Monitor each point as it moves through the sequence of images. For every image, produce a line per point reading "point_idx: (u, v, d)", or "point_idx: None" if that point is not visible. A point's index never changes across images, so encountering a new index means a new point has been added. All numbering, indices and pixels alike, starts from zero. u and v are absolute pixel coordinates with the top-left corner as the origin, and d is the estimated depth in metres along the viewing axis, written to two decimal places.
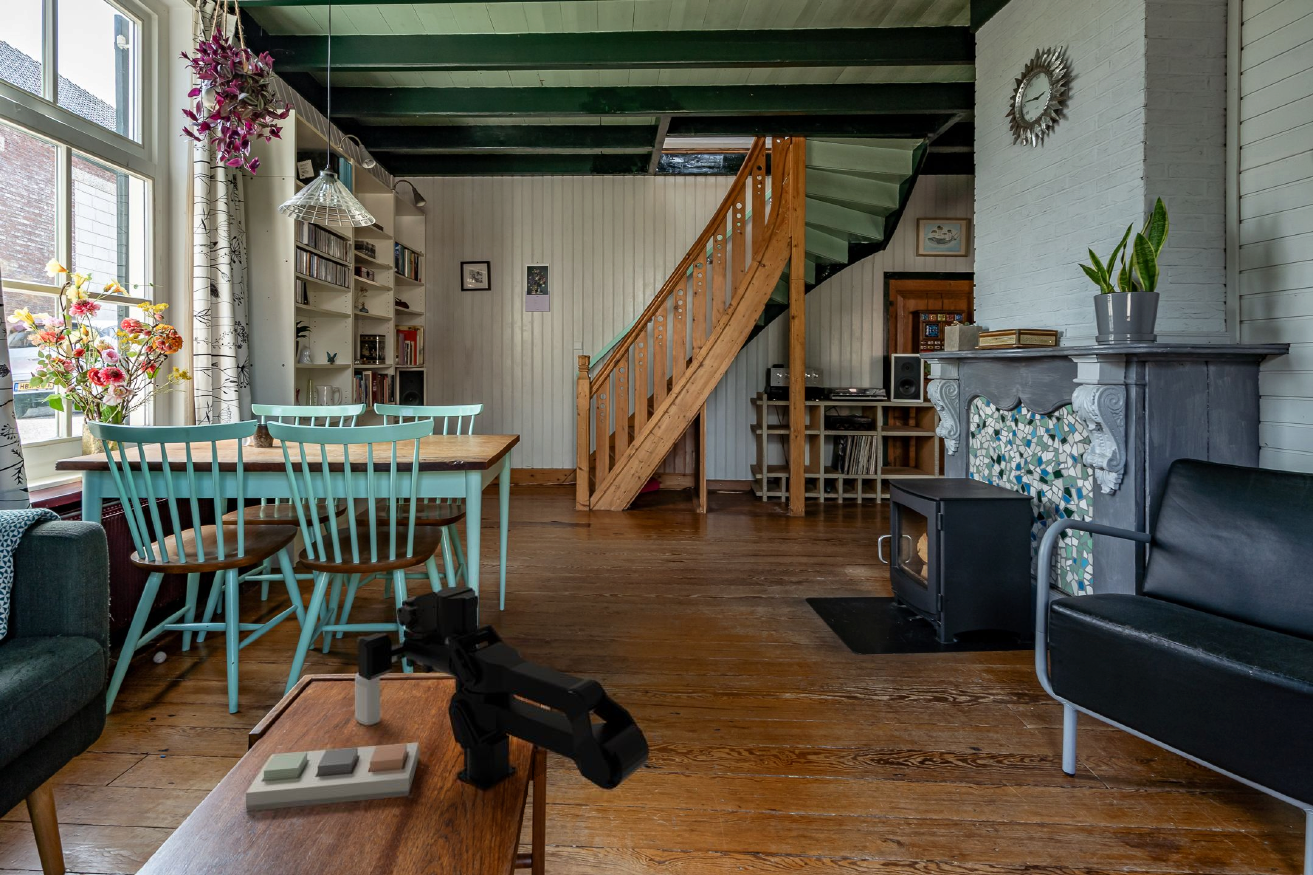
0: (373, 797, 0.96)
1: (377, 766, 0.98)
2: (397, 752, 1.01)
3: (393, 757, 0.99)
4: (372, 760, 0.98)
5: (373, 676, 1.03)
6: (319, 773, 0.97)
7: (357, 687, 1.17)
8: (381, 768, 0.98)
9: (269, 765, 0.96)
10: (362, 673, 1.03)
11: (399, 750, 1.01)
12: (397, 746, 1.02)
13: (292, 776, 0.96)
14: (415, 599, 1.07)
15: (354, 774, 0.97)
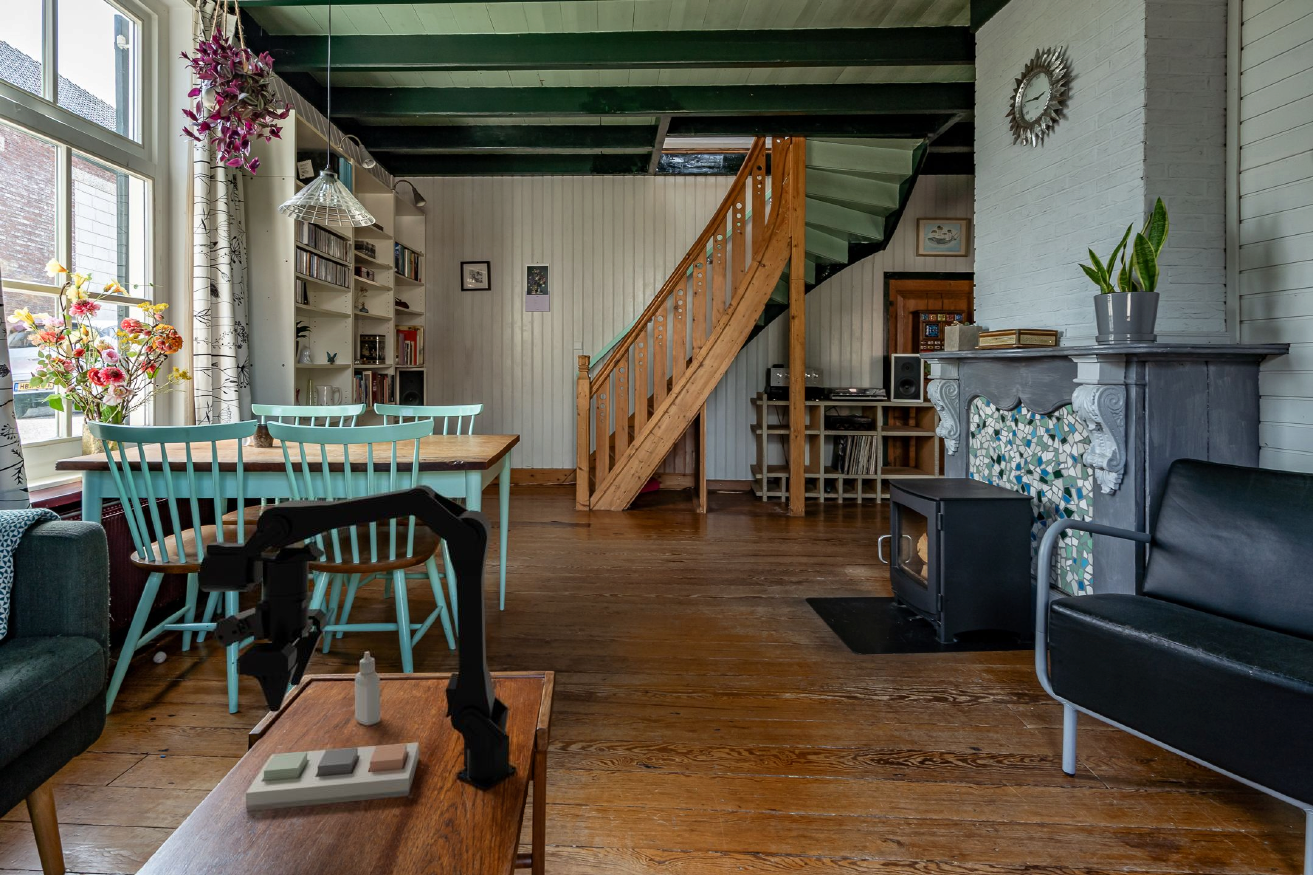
0: (373, 797, 0.96)
1: (377, 766, 0.98)
2: (397, 752, 1.01)
3: (393, 757, 0.99)
4: (372, 760, 0.98)
5: (283, 652, 0.89)
6: (319, 773, 0.97)
7: (357, 687, 1.17)
8: (381, 768, 0.98)
9: (269, 765, 0.96)
10: (277, 665, 0.88)
11: (399, 750, 1.01)
12: (397, 746, 1.02)
13: (292, 776, 0.96)
14: None
15: (354, 774, 0.97)
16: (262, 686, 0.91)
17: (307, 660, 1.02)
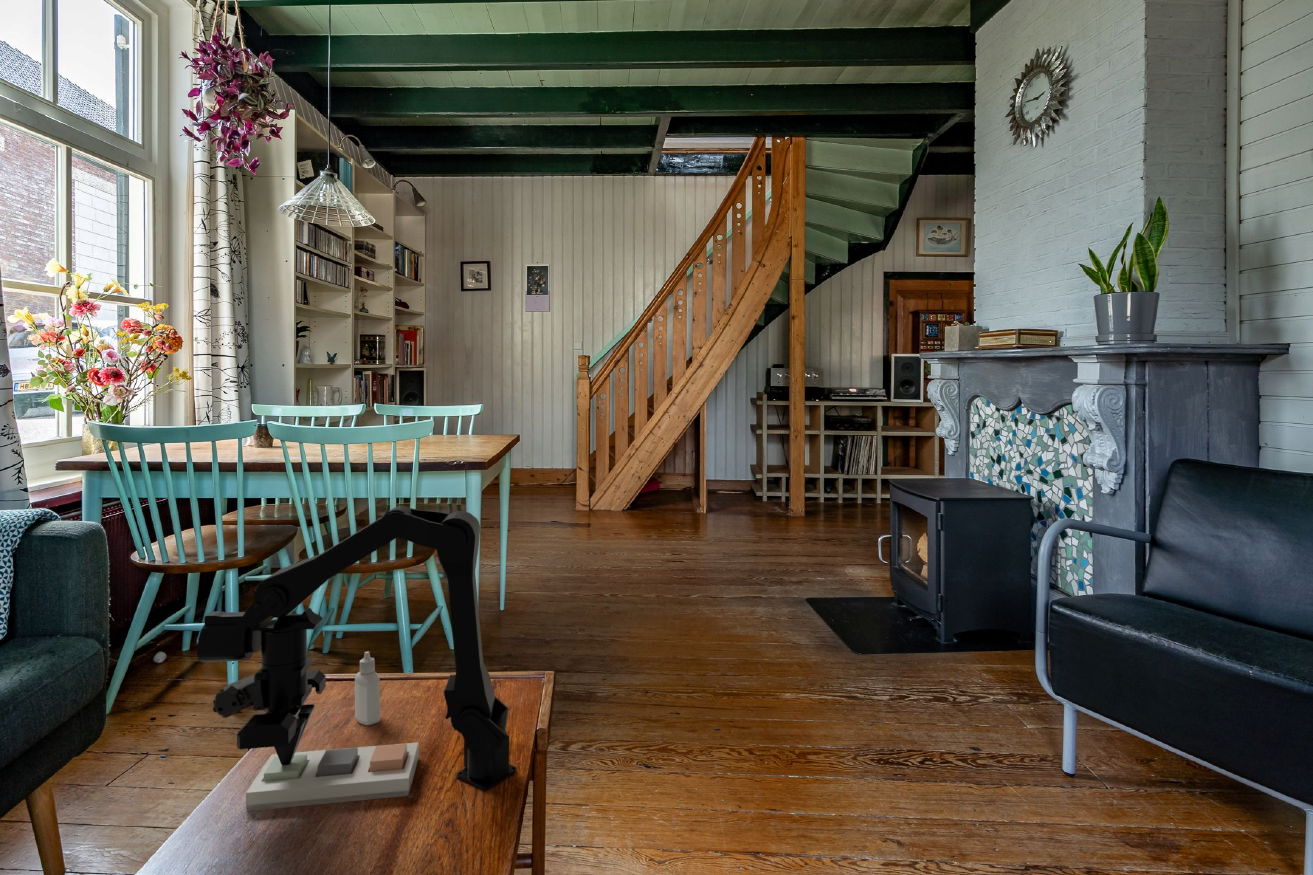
0: (373, 797, 0.96)
1: (377, 766, 0.98)
2: (397, 752, 1.01)
3: (393, 757, 0.99)
4: (372, 760, 0.98)
5: (283, 724, 0.89)
6: (319, 773, 0.97)
7: (357, 687, 1.17)
8: (381, 768, 0.98)
9: (269, 768, 0.96)
10: (278, 738, 0.88)
11: (399, 750, 1.01)
12: (397, 746, 1.02)
13: None
14: (216, 697, 0.93)
15: (354, 774, 0.97)
16: None
17: (299, 737, 0.98)
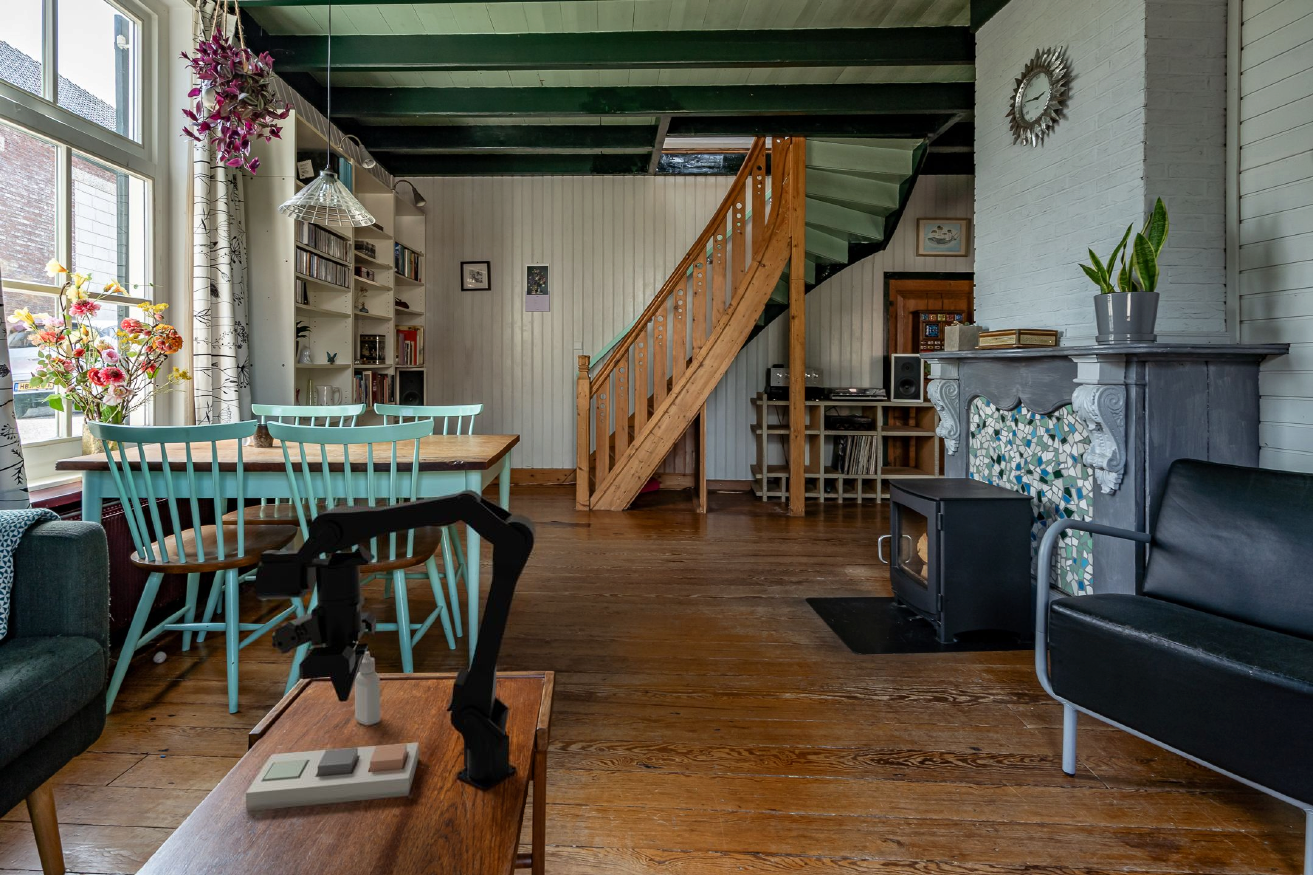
0: (373, 797, 0.96)
1: (377, 766, 0.98)
2: (397, 752, 1.01)
3: (393, 757, 0.99)
4: (372, 760, 0.98)
5: (344, 654, 0.90)
6: (319, 773, 0.97)
7: (357, 687, 1.17)
8: (381, 768, 0.98)
9: (269, 773, 0.97)
10: (339, 668, 0.89)
11: (399, 750, 1.01)
12: (397, 746, 1.02)
13: None
14: (274, 633, 0.94)
15: (354, 774, 0.97)
16: (332, 677, 0.97)
17: None
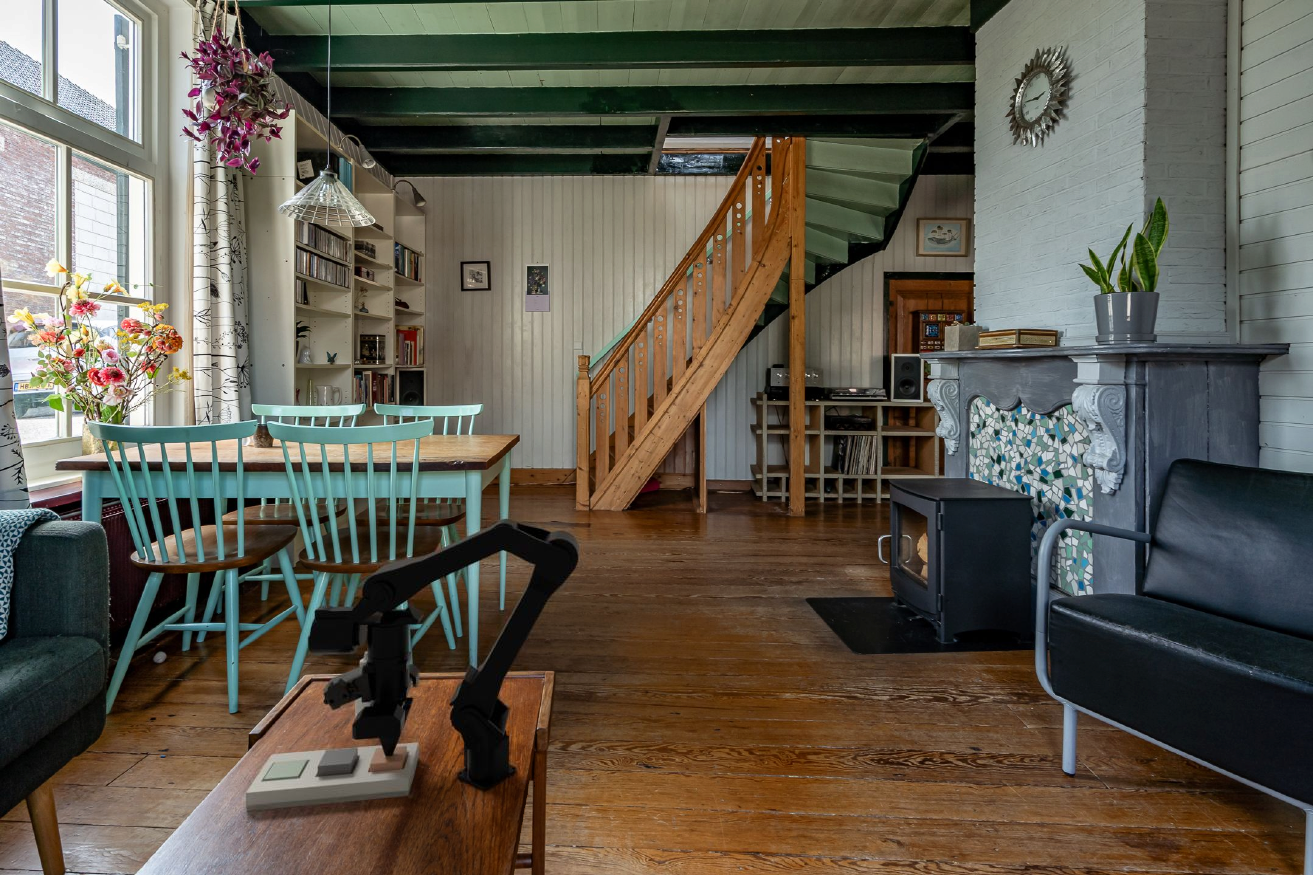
0: (373, 797, 0.96)
1: (377, 769, 0.98)
2: (397, 754, 1.01)
3: (393, 759, 0.99)
4: (372, 762, 0.98)
5: (396, 715, 0.92)
6: (319, 773, 0.97)
7: None
8: (381, 770, 0.98)
9: (269, 773, 0.97)
10: (391, 729, 0.91)
11: (399, 753, 1.01)
12: (397, 748, 1.02)
13: None
14: (325, 689, 0.96)
15: (354, 774, 0.97)
16: None
17: None
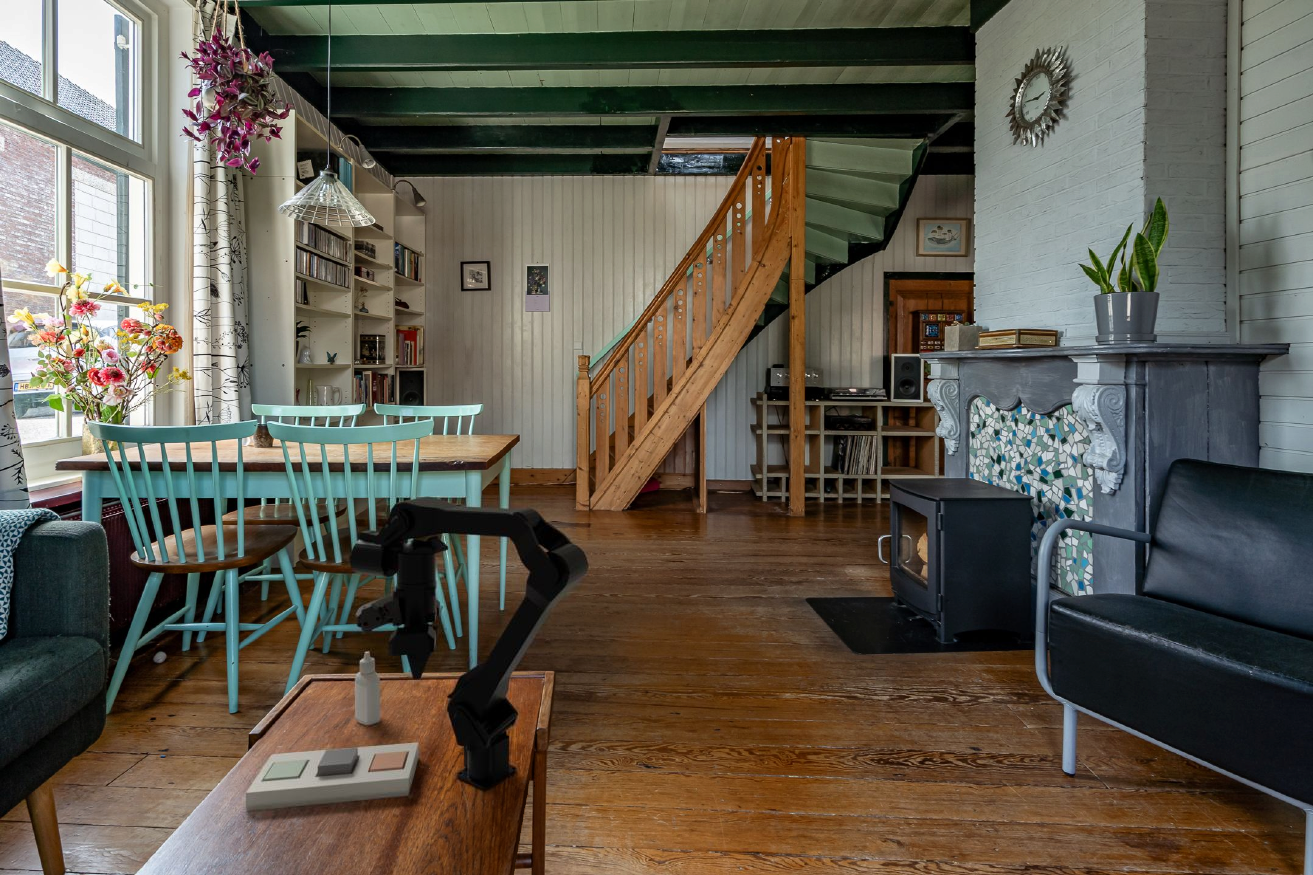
0: (373, 797, 0.96)
1: None
2: (397, 760, 1.01)
3: (393, 765, 0.99)
4: (372, 768, 0.98)
5: (429, 633, 0.97)
6: (319, 773, 0.97)
7: (357, 687, 1.17)
8: None
9: (269, 773, 0.97)
10: (426, 646, 0.96)
11: (399, 758, 1.01)
12: (397, 753, 1.02)
13: None
14: (357, 614, 1.01)
15: (354, 774, 0.97)
16: (408, 656, 1.03)
17: None
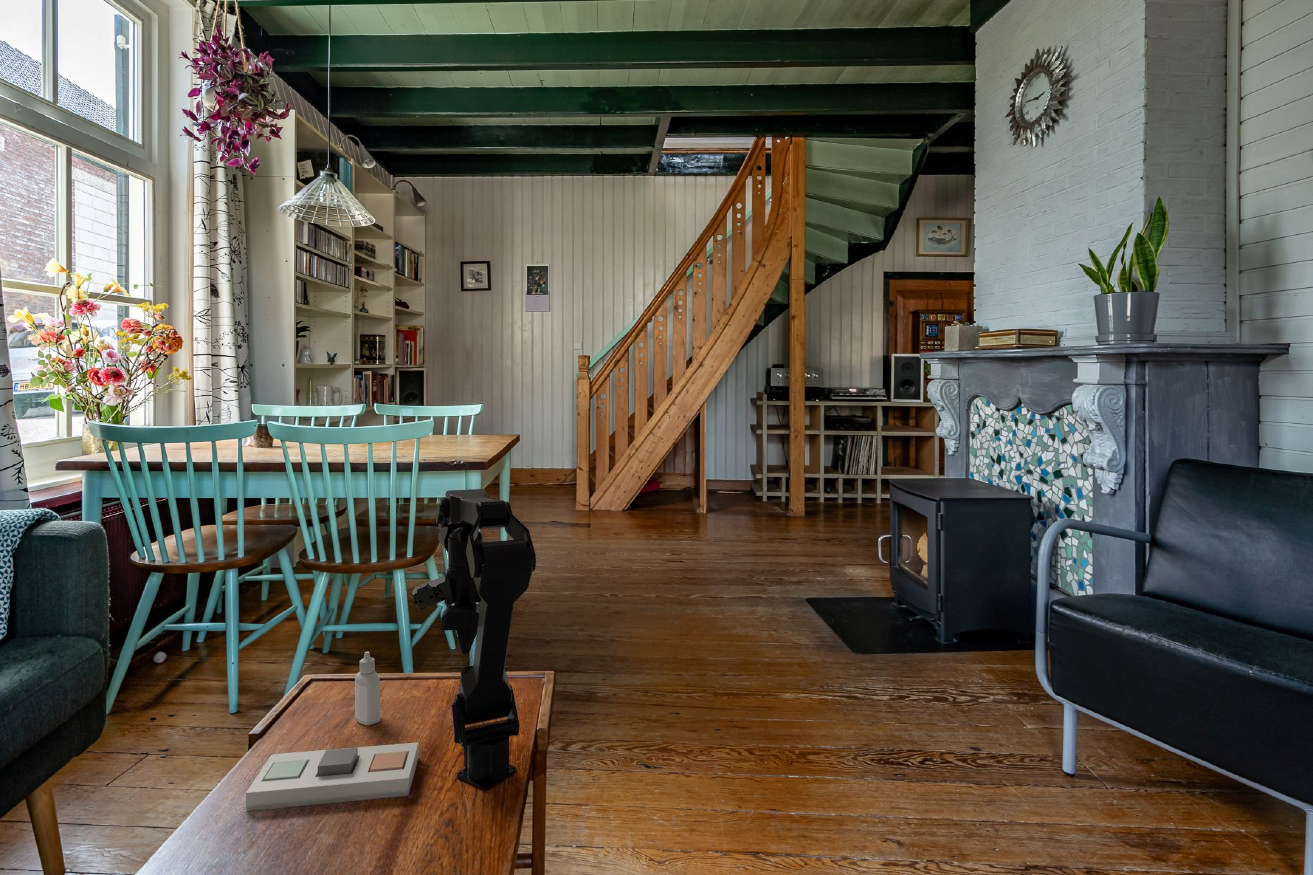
0: (373, 797, 0.96)
1: None
2: (397, 760, 1.01)
3: (393, 765, 0.99)
4: (372, 768, 0.98)
5: (477, 611, 1.07)
6: (319, 773, 0.97)
7: (357, 687, 1.17)
8: None
9: (269, 773, 0.97)
10: (474, 622, 1.06)
11: (399, 758, 1.01)
12: (397, 753, 1.02)
13: None
14: (413, 593, 1.11)
15: (354, 774, 0.97)
16: (458, 633, 1.14)
17: None
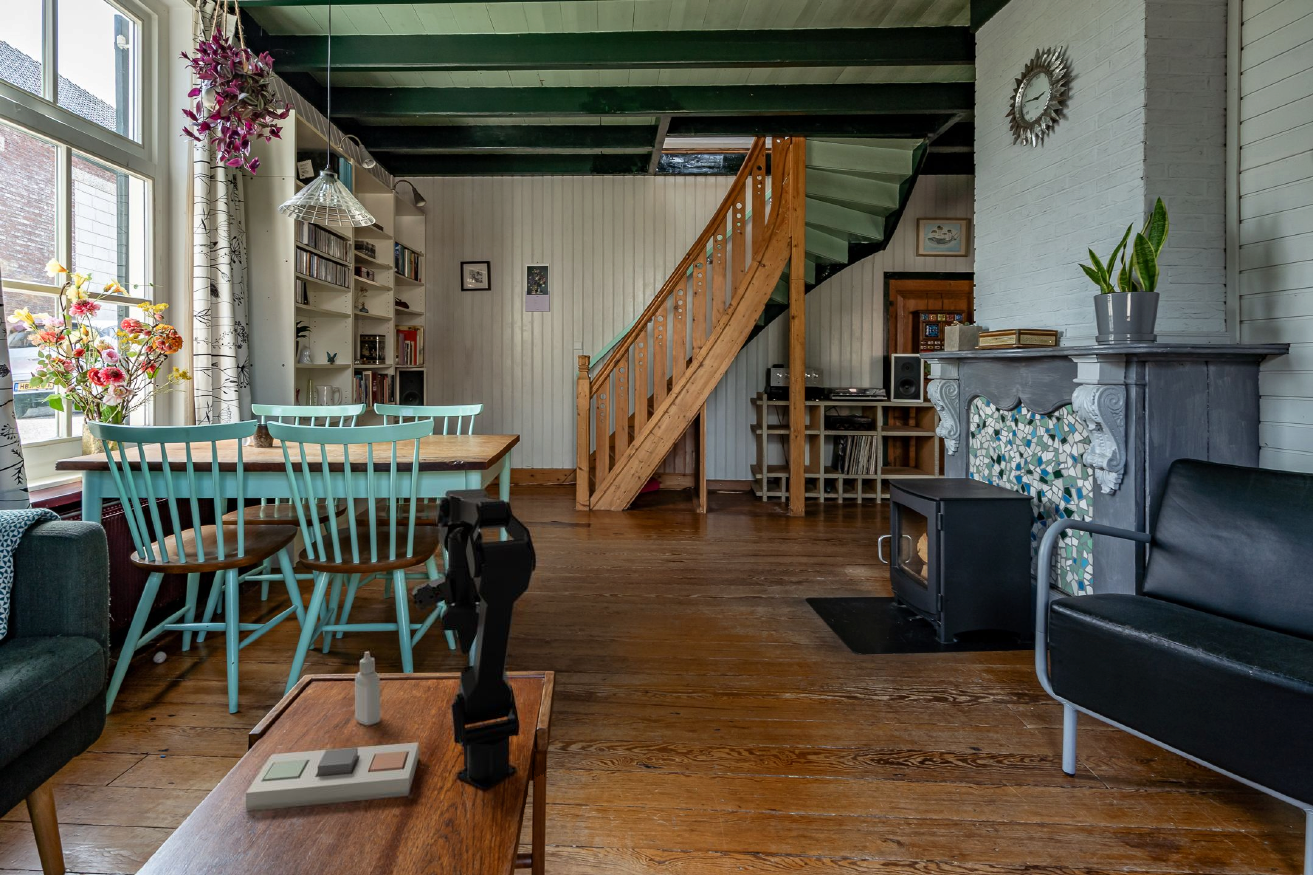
0: (373, 797, 0.96)
1: None
2: (397, 760, 1.01)
3: (393, 765, 0.99)
4: (372, 768, 0.98)
5: (477, 611, 1.07)
6: (319, 773, 0.97)
7: (357, 687, 1.17)
8: None
9: (269, 773, 0.97)
10: (474, 622, 1.06)
11: (399, 758, 1.01)
12: (397, 753, 1.02)
13: None
14: (413, 593, 1.11)
15: (354, 774, 0.97)
16: (458, 633, 1.14)
17: None
